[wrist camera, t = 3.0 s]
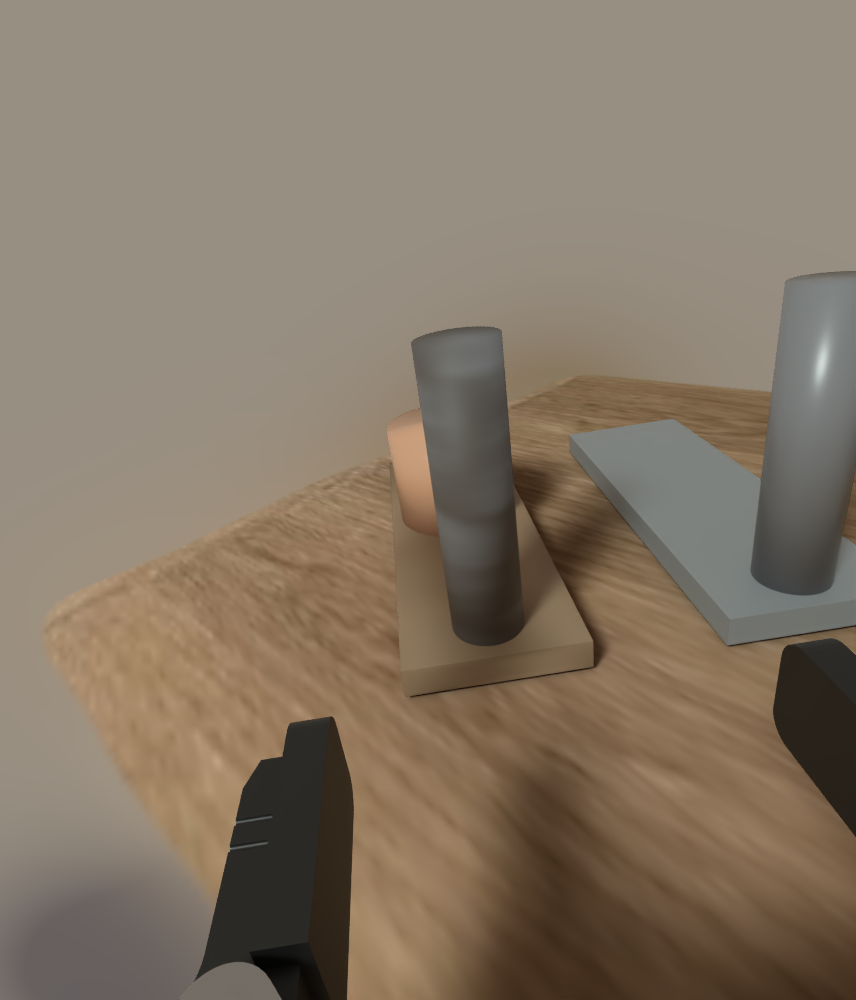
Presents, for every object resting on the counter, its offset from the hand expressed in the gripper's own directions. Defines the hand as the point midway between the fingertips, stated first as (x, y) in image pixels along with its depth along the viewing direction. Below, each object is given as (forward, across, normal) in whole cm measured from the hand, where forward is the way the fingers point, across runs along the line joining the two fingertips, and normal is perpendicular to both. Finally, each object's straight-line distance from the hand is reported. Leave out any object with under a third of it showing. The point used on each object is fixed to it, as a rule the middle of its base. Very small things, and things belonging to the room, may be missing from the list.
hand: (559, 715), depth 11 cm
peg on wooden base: (+19, 0, +8) cm, 20 cm away
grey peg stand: (+19, -12, +8) cm, 24 cm away
